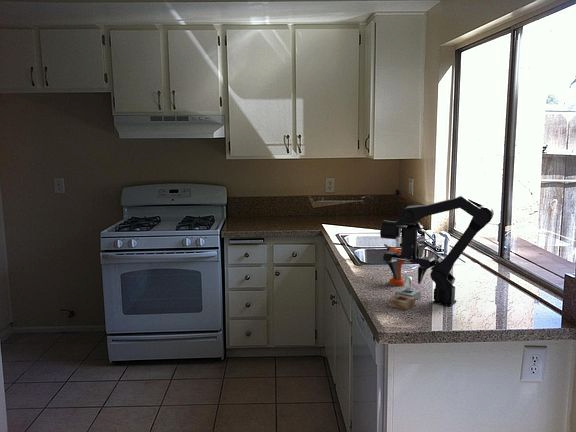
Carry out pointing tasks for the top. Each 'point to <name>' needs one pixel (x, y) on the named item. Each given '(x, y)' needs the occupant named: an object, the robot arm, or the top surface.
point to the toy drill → (399, 281)
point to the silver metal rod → (408, 284)
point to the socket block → (401, 301)
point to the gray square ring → (413, 293)
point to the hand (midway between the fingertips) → (407, 281)
